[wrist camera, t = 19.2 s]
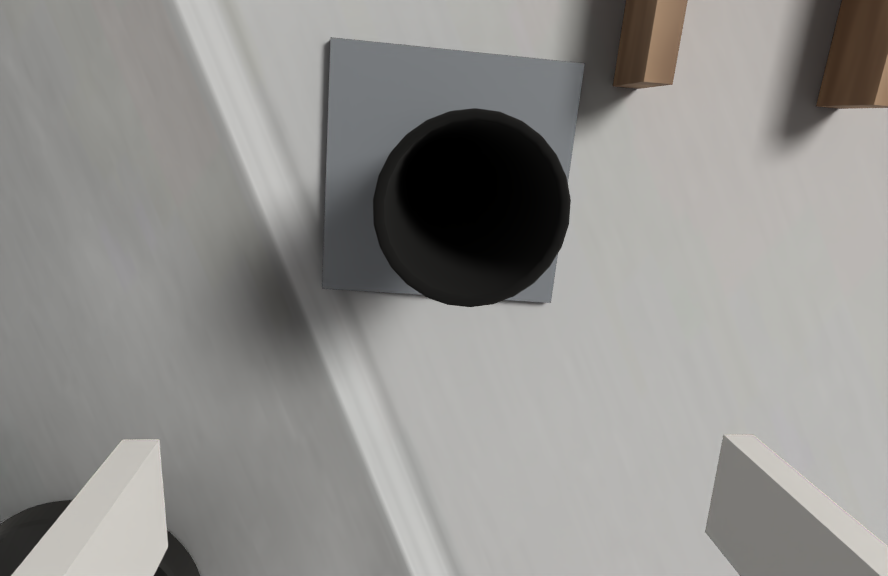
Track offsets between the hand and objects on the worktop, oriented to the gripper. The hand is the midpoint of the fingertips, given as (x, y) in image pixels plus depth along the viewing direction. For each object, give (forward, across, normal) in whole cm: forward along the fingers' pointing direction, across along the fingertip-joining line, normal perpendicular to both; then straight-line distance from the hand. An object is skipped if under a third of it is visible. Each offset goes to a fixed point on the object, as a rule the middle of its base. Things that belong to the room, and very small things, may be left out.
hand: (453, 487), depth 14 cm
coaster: (+23, +2, +5) cm, 24 cm away
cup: (+23, +2, +5) cm, 23 cm away
